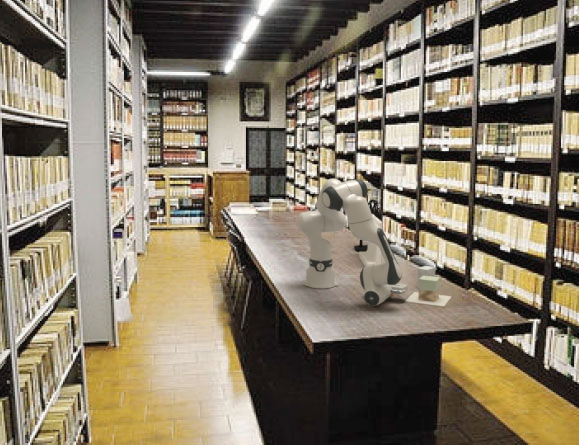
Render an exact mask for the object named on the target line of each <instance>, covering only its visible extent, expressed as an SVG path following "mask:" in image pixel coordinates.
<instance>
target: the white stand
mask: <svg viewBox="0 0 579 445" xmlns="http://www.w3.org/2000/svg"><path fill="white" fill-rule="evenodd" d="M371 214H372V213H371ZM372 218H373V221H374V223H375V225H376V226H377V227H378V228H380V229H382V230H383V221H382V222H381V221H380V220H379V219H378V218H377V217H375V214H372ZM367 245H368V249H367V251H366V252H359V251H358V252H359V254H358V255H359V256H358V257H359V259H360V260H361V263H363V266H367V265H376V264H382V253H381V251H380V248H379V247H378V246H377V245H376V244H374V243H371V242H368V241H367Z"/></svg>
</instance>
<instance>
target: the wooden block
mask: <svg viewBox="0 0 579 445" xmlns="http://www.w3.org/2000/svg"><path fill="white" fill-rule="evenodd" d="M418 292H419V296H418V300H424V301H432V302H436V301H437V299H438V298H439V295H440V288H439V289H438V290H437V291H436V292H435V291H427V290H419V289H418Z"/></svg>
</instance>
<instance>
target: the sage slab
mask: <svg viewBox="0 0 579 445" xmlns="http://www.w3.org/2000/svg"><path fill="white" fill-rule="evenodd" d="M440 285H441V278H440V277H439V276H435V277H432V276H422V277H421V278H420V279H419V288H418V291H419V290H427V291H435V292H436V291H437V290H438V289H439V290H440V287H441V286H440Z"/></svg>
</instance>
